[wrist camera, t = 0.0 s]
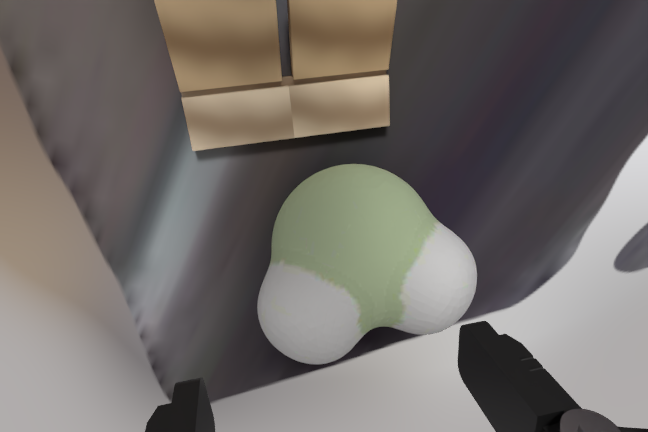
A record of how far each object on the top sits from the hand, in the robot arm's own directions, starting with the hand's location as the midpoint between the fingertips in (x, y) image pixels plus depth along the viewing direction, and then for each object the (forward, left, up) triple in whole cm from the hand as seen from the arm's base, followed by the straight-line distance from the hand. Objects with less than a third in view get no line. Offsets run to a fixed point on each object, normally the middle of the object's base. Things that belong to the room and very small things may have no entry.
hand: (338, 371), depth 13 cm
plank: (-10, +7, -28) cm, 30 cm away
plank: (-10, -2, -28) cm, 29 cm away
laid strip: (-3, +2, -29) cm, 30 cm away
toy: (+8, +6, -30) cm, 31 cm away
